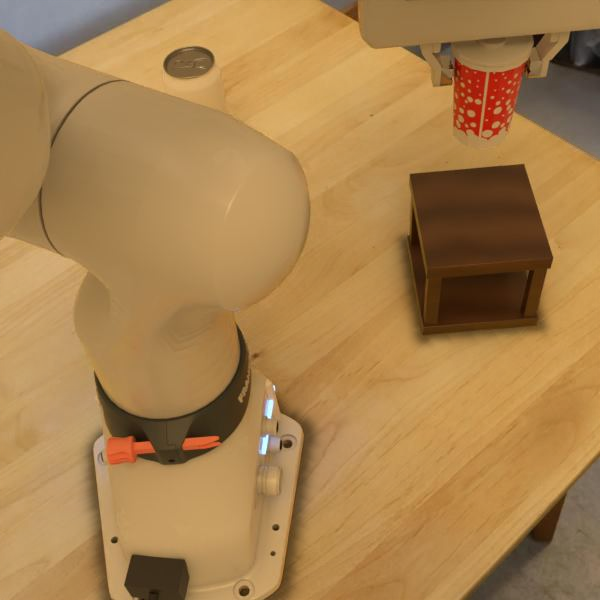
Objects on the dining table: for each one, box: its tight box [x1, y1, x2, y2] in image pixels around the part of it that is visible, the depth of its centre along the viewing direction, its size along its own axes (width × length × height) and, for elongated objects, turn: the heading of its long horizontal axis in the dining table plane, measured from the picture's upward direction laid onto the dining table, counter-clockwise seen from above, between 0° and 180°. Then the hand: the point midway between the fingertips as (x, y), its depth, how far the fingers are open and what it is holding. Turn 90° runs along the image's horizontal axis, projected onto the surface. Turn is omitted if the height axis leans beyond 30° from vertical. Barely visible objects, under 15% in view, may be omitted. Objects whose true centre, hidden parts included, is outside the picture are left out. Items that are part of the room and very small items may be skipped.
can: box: [161, 45, 229, 114], centre depth 97 cm, size 6×6×12 cm
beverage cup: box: [450, 35, 535, 150], centre depth 66 cm, size 6×6×14 cm
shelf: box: [406, 163, 554, 336], centre depth 82 cm, size 12×11×10 cm
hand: (488, 77), depth 67 cm, fingers closed on beverage cup, 6 cm apart
